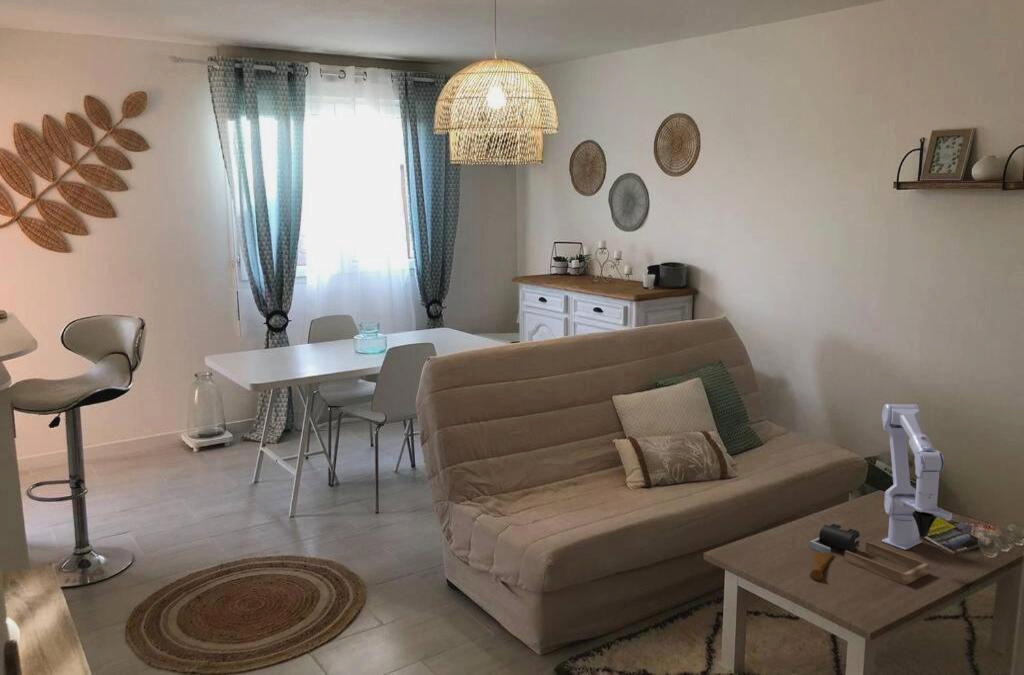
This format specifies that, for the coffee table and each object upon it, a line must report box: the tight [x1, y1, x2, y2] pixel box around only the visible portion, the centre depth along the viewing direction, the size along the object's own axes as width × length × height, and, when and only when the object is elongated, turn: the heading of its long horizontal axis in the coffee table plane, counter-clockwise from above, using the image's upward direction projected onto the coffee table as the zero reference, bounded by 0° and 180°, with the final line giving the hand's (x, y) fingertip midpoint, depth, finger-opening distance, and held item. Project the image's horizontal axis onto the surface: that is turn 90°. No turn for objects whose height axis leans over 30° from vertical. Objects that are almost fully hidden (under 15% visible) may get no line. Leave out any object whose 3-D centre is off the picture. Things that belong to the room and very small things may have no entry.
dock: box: [808, 537, 832, 555], centre depth 261 cm, size 13×7×2 cm, turn 124°
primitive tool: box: [809, 552, 834, 582], centre depth 247 cm, size 19×6×4 cm, turn 156°
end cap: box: [818, 523, 861, 553], centre depth 258 cm, size 10×7×7 cm
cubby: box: [843, 540, 931, 586], centre depth 246 cm, size 12×20×3 cm, turn 34°
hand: (923, 535), depth 244 cm, fingers closed
